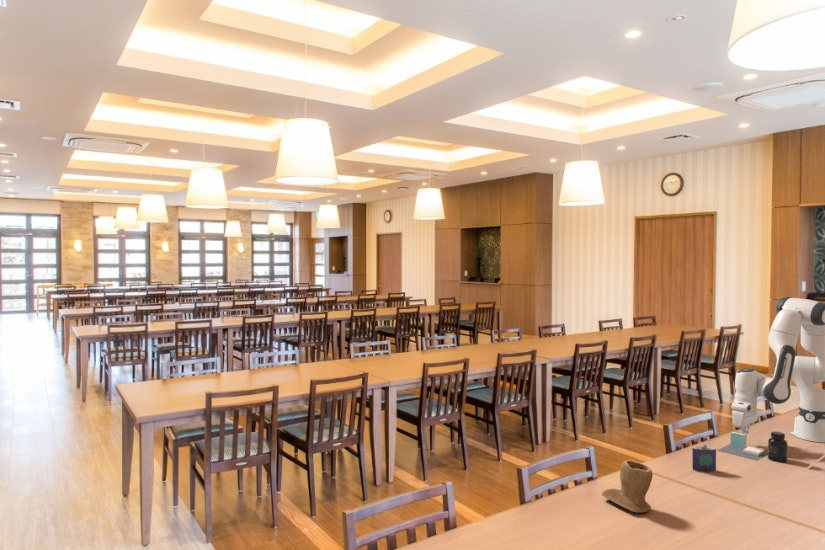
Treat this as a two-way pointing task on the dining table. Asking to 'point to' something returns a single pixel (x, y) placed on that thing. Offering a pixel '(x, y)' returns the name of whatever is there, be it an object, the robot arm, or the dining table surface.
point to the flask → (704, 458)
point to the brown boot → (632, 487)
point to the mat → (740, 452)
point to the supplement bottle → (777, 447)
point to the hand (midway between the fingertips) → (745, 434)
